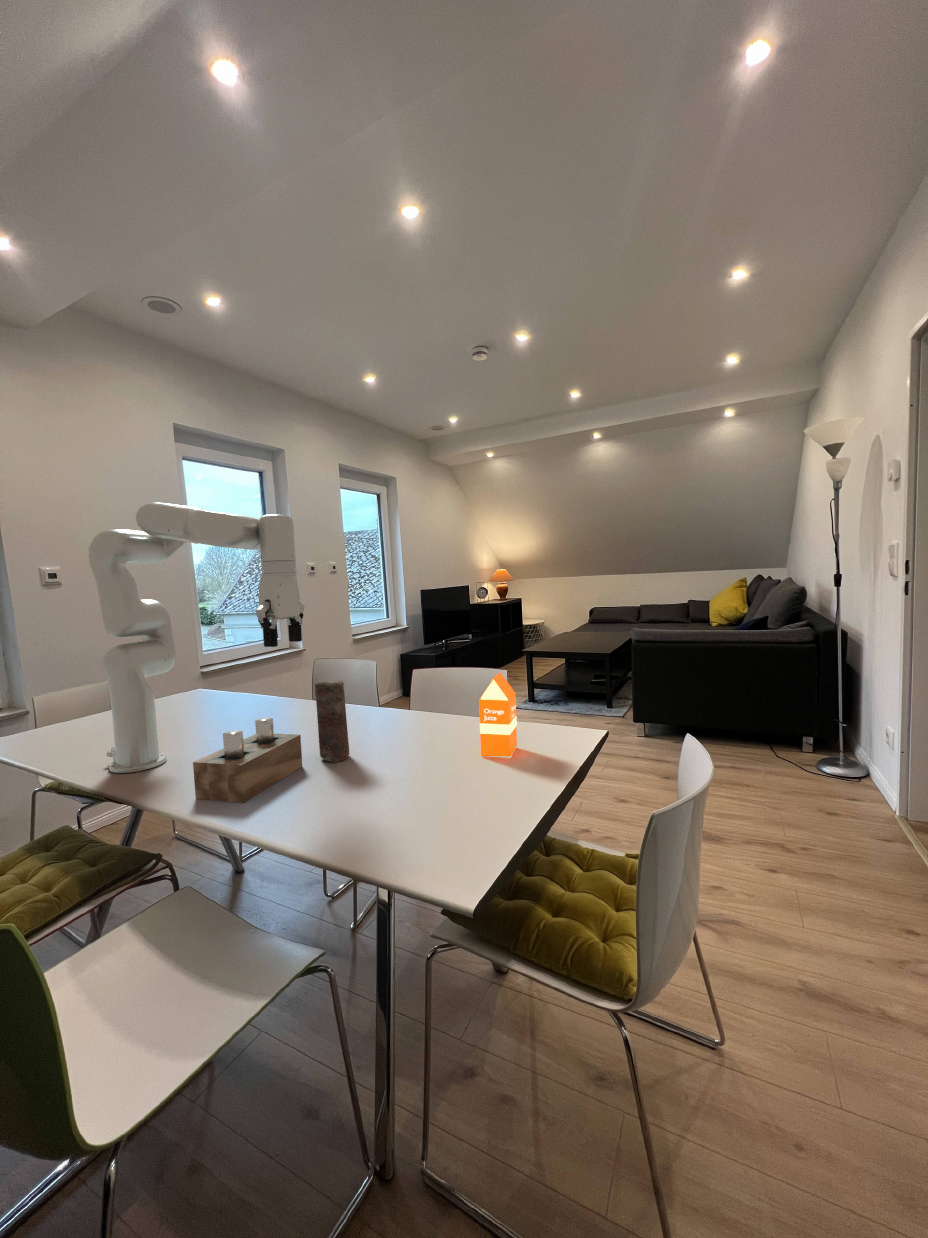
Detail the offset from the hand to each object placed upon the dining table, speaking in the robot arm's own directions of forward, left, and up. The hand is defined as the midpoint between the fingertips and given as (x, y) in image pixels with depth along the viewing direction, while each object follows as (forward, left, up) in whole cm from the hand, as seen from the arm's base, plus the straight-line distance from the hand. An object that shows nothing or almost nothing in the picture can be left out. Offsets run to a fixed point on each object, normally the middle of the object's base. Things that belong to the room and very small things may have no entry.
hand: (283, 643), depth 124 cm
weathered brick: (+4, +13, -31) cm, 34 cm away
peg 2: (-7, +1, -26) cm, 27 cm away
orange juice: (+45, +24, -31) cm, 60 cm away
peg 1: (-7, -10, -26) cm, 29 cm away
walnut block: (-7, -5, -31) cm, 32 cm away
